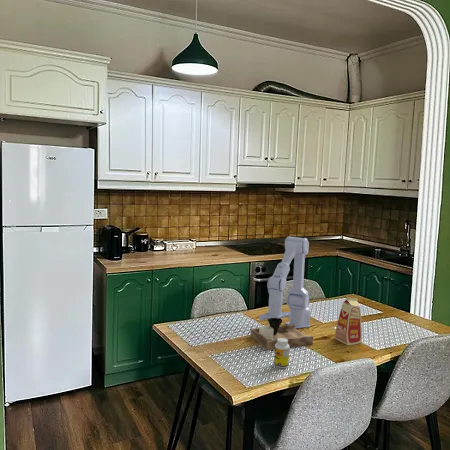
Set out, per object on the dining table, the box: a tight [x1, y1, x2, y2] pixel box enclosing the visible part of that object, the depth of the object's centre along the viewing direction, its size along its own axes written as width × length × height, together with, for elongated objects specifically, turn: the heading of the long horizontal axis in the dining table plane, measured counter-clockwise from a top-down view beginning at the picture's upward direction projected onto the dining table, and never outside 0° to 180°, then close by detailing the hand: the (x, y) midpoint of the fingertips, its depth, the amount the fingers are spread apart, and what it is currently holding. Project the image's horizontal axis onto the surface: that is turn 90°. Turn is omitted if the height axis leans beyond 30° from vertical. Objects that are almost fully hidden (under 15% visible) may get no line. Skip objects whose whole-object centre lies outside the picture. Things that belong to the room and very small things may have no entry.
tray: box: [250, 324, 314, 351], centre depth 192 cm, size 22×16×4 cm
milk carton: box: [333, 296, 363, 346], centre depth 194 cm, size 9×9×20 cm
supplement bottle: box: [273, 338, 291, 369], centre depth 165 cm, size 6×6×10 cm
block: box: [258, 324, 274, 340], centre depth 189 cm, size 4×4×4 cm
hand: (274, 334), depth 190 cm, fingers closed
